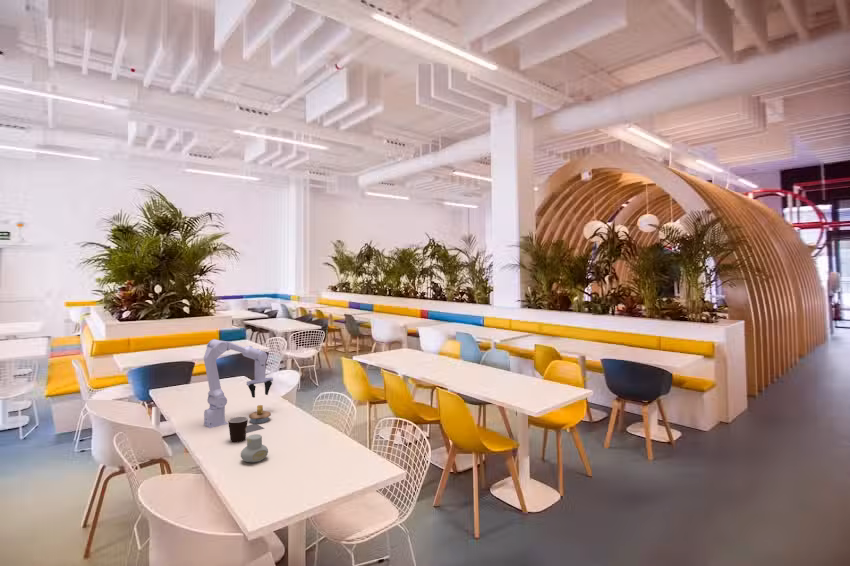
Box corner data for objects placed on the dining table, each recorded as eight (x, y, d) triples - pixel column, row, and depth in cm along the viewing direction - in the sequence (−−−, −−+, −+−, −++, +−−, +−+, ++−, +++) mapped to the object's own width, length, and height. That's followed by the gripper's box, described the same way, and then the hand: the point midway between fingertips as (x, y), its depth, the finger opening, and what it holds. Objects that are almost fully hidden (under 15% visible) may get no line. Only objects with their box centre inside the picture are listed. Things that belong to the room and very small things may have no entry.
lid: (253, 420, 228) (253, 410, 227) (245, 415, 236) (245, 405, 236) (274, 416, 235) (274, 406, 235) (266, 411, 243) (266, 401, 243)
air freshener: (261, 453, 194) (261, 430, 194) (271, 458, 189) (271, 435, 189) (237, 461, 186) (237, 437, 185) (247, 466, 180) (247, 442, 180)
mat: (245, 434, 217) (245, 433, 217) (236, 428, 224) (236, 428, 224) (264, 429, 224) (264, 428, 224) (256, 424, 231) (256, 423, 231)
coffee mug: (240, 444, 203) (240, 423, 203) (224, 443, 205) (224, 421, 205) (255, 435, 215) (255, 415, 214) (239, 434, 216) (239, 414, 216)
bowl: (254, 425, 229) (254, 419, 229) (247, 421, 236) (247, 415, 236) (271, 421, 236) (271, 415, 236) (263, 417, 242) (263, 411, 242)
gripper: (250, 375, 240) (250, 399, 241) (275, 371, 251) (275, 394, 251) (245, 373, 245) (245, 397, 246) (269, 369, 256) (269, 392, 256)
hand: (260, 395), depth 249 cm, fingers open, 7 cm apart
